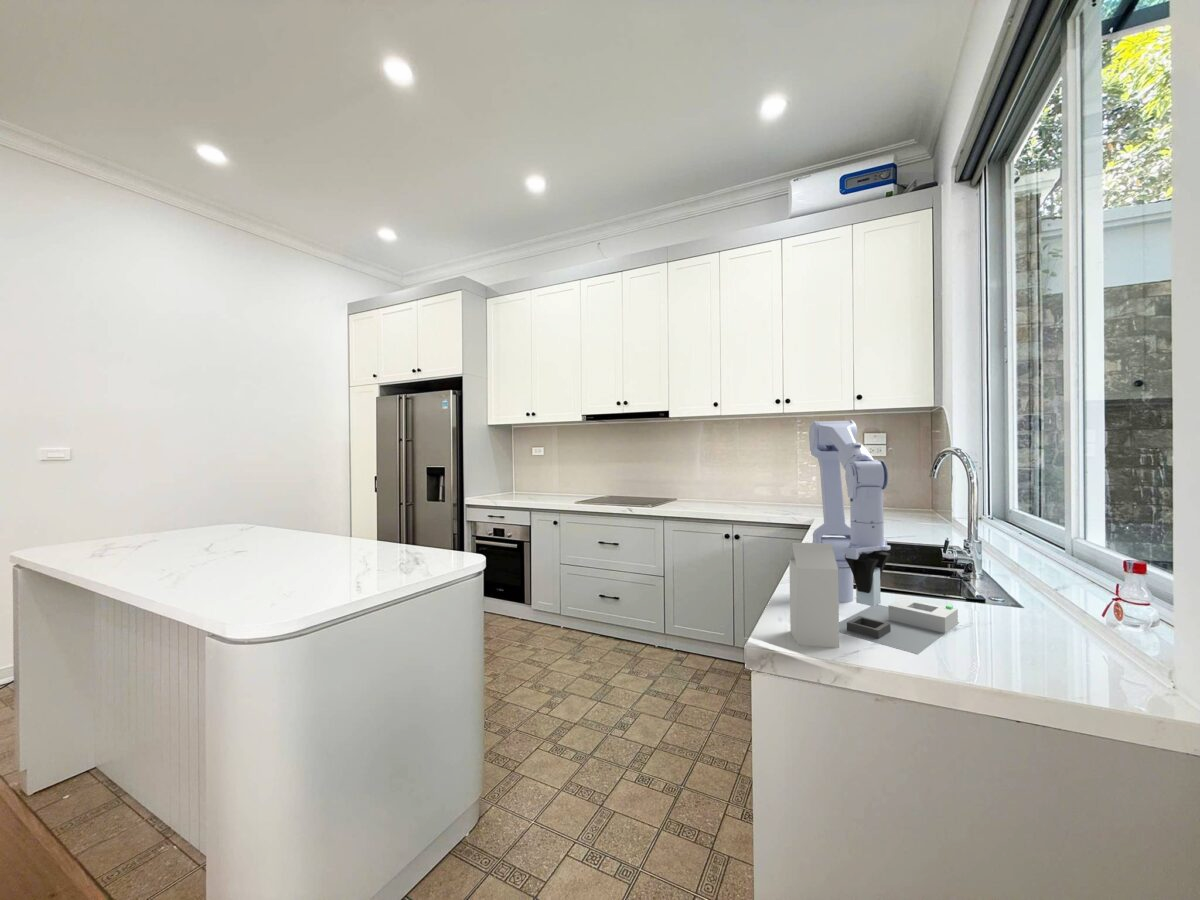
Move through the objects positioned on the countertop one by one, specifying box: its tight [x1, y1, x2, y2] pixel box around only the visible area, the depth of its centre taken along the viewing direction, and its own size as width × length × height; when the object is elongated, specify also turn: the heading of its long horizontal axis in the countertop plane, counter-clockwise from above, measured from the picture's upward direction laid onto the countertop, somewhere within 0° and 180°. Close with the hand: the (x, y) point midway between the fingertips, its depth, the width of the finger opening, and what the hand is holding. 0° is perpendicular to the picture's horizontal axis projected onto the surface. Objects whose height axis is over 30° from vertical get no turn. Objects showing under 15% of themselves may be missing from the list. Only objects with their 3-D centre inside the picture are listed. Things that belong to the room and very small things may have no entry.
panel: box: [839, 597, 960, 655], centre depth 96 cm, size 16×24×4 cm, turn 129°
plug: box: [855, 567, 882, 607], centre depth 93 cm, size 3×3×7 cm
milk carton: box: [788, 542, 840, 649], centre depth 90 cm, size 7×7×19 cm
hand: (867, 590), depth 93 cm, fingers closed on plug, 3 cm apart
